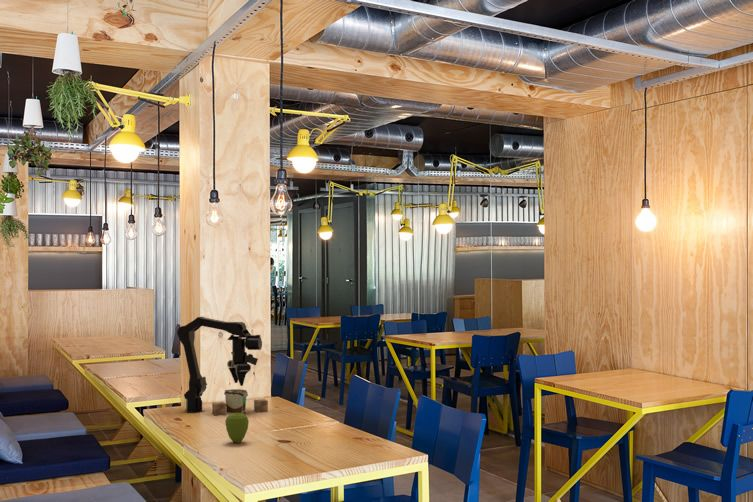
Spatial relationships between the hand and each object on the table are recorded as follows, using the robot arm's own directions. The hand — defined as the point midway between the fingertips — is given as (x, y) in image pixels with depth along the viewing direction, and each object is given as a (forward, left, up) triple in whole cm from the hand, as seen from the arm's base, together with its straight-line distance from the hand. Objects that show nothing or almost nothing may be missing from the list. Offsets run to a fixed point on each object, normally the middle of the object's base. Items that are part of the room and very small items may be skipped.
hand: (238, 384), depth 325 cm
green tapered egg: (-15, -56, -13) cm, 60 cm away
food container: (0, 0, -13) cm, 13 cm away
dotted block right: (+10, -1, -13) cm, 16 cm away
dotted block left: (-9, 0, -13) cm, 16 cm away
